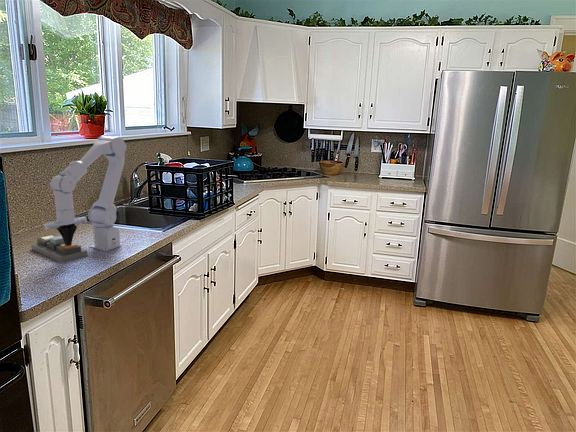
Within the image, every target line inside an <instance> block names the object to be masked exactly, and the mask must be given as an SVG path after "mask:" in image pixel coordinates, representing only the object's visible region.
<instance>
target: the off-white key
mask: <svg viewBox="0 0 576 432" xmlns="http://www.w3.org/2000/svg"><path fill="white" fill-rule="evenodd" d="M54 236H55V235H53V236H52V234H51V235H47V236H42V237H40V238H41V240H44V241H48V240H50V238H52V237H54Z"/></svg>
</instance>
